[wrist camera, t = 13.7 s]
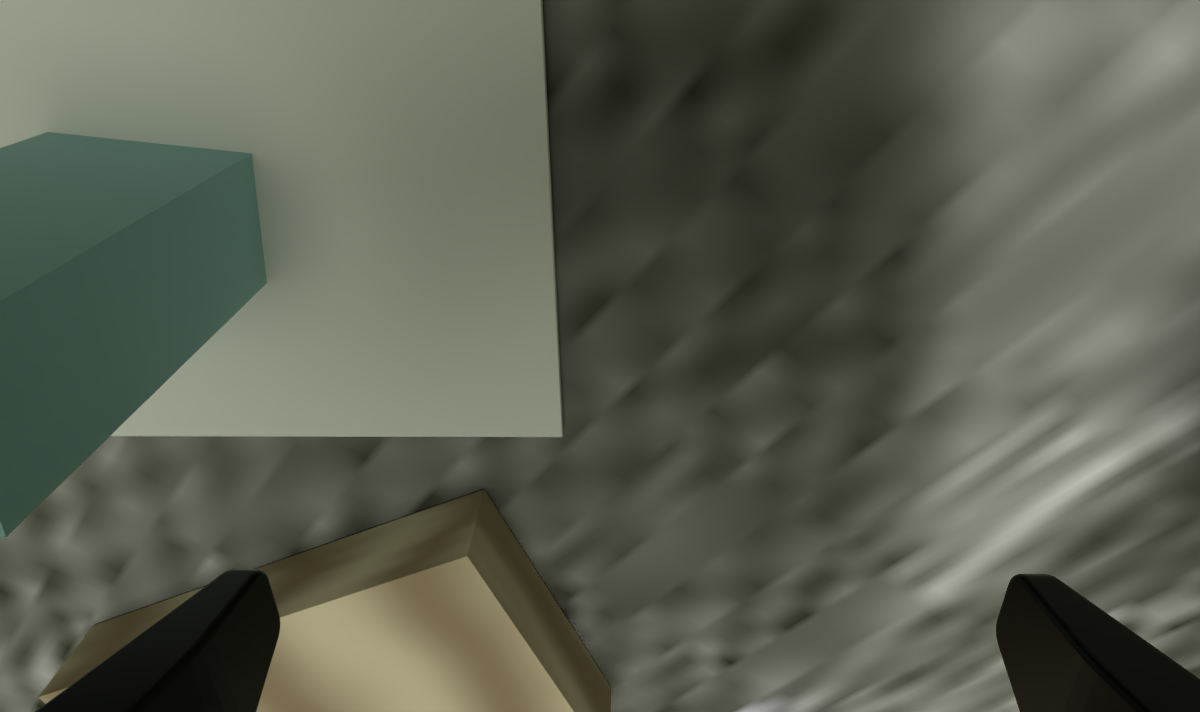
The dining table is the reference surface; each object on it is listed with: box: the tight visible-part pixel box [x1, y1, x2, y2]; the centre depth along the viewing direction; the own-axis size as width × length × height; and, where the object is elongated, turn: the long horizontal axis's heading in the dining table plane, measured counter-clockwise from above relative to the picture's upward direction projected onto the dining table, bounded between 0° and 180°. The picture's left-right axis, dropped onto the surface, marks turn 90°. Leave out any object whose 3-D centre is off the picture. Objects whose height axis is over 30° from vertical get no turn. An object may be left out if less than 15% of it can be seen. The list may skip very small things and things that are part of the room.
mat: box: [0, 0, 563, 437], centre depth 20 cm, size 20×14×1 cm
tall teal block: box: [0, 132, 267, 537], centre depth 16 cm, size 5×4×10 cm
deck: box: [39, 489, 611, 712], centre depth 27 cm, size 16×10×3 cm, turn 114°
